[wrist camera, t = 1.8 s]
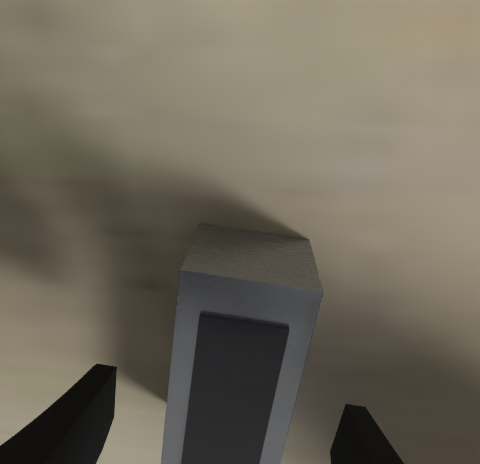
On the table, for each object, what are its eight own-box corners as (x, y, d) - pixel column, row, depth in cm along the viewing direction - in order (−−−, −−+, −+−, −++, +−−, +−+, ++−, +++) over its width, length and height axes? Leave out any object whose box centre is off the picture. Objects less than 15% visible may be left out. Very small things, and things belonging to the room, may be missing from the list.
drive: (308, 237, 15) (324, 294, 11) (267, 420, 18) (268, 513, 14) (201, 220, 15) (178, 271, 11) (179, 406, 18) (157, 495, 14)
